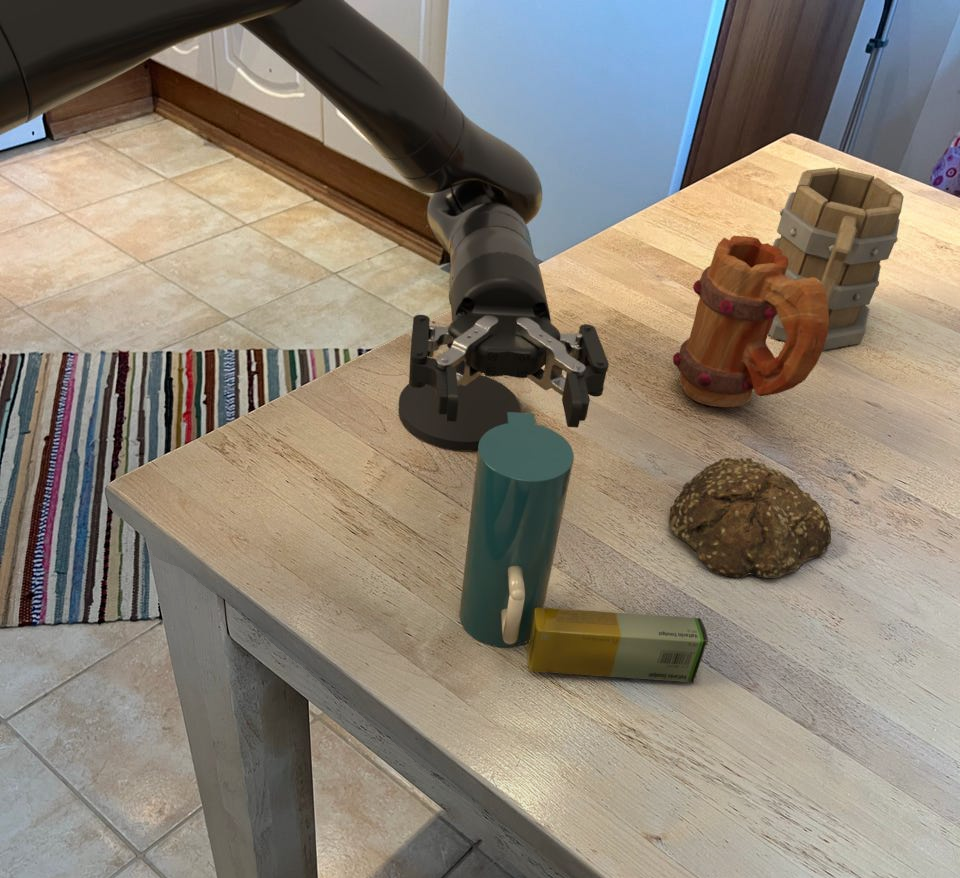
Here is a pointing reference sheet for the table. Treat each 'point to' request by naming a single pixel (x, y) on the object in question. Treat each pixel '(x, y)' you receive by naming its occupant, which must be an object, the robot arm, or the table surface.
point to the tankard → (839, 244)
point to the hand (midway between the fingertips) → (514, 414)
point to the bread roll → (749, 520)
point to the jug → (513, 528)
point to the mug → (750, 326)
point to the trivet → (476, 413)
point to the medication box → (616, 644)
